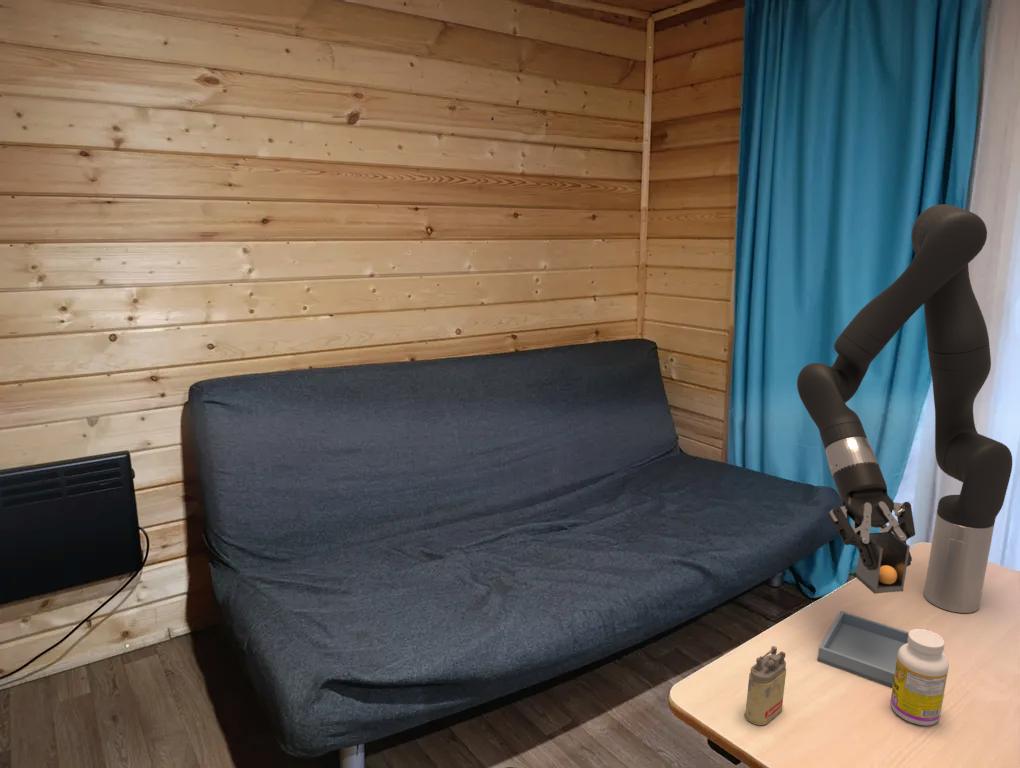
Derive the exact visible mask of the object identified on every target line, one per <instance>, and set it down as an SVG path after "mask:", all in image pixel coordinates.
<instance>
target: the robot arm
mask: <svg viewBox="0 0 1020 768" xmlns="http://www.w3.org/2000/svg"><path fill="white" fill-rule="evenodd" d="M987 229H988V228H987V226H986V223H985V222H984V220H983V219H982V218H981V217H980V216H979V215H978V214H976V213H975V212H972V211H970V210H967V209H964V208H961V207H959V206H956V205H952V204H945V203H944V204H942V203H941V204H935V205H932V206H929V207H927V208H926V209H924V210H923V211H922V212H921V213H920V214H919V215H918V217H916V220H915V221H914V223H913V225H912V230H911V236H910V237H911V243H912V245H911V246H912V248H913V251H914V258H913V259H912V261H911V262H910V263H909V265H908V266H907V268H905V270H904V271H903V273H901V274H900V275H899V277H898V278H896V279H895V281H894V282H892V283H891V284H890V285H889V286H888V287H887V288H885V289H884V290H883V291H882V292H879V294H878V295H877V296H875V297H874V298H873V299H871V300H870V301H869V302H868V303H867V304H865V306H863V307H862V308H861V310H859V311H858V312H857V314H856V315H855V316H854V317H853V318H852V320H851V321H850V322H849V323H848V325H846V327H845V328H844V329H843V331H842V332H841V333H840V335H839V336H838V337H837V338H836V340H835V342H834V345H833V349H834V350H835V353H837V354H838V355H837V356H836V359H835V361H834V363H833V365H832V366H830V365H828V364H825V363H821V362H811V363H808V364H807V365H805V366H804V367H803V368H802V369H801V370H800V371H799V373H798V376H797V380H796V386H797V387H796V389H797V392H798V395H799V398H800V400H801V402H802V403H803V404H802V405H803V406H804V408H805V409H806V410H807V411H806V412H807V413H808V414H809V416H810V418H811V420H812V421H813V422H814V424H815V425H816V427H817V429H818V432H819V436H820V439H821V441H822V444H823V447H824V450H825V455H826V459H827V464H828V467H829V470H830V472H831V476H832V479H833V481H834V484H835V487H836V490H837V494H838V496H839V499H840V500H841V501H842V506H835V507H834V508H832V509H831V510H830V511H828V513H827V516H828V518H829V519H830V522H831V523H832V525H833V526H834V528H835V531H836V532H837V533H838V535H839V537H840V538H841V540H842V542H843V544H844V545H846V546H849V545H851V546H855V547H856V548H857V550H858V554H859V553H860V556H861V559H862V562H863V565H864V566H865V567H867V569H868V570H874V569H876V568H878V563H877V560H876V557H875V555H874V552H873V549H872V546H871V544H868V543H869V533H870V531H871V529H872V528H878V529H879V531H880V532H891V533H892V534H894V535H895V536H897V537H898V538H899V539H901V540H902V541H903V542H905V543H906V544H907V541H908V540H909V539H910V538H913V537H915V536H916V529H915V523H914V522H915V521H914V516H913V511H912V509H913V508H912V504H911V503H910V502H908V501H904V502H902V503H901V502H894V501H893V499H892V498H891V497H890V496H889V495H888V486H887V483H886V480H885V478H884V475H883V472H882V470H881V468H880V464H879V463H878V459H877V456H876V455H875V451H874V449H873V448H872V445H871V444H870V442H869V439H868V437H867V433H866V431H865V429H864V426H863V423H862V422H861V421H862V420H861V419H860V416H859V415H858V414H857V413H856V412H855V411H854V410H852V409H851V408H850V407H848V405H847V402H848V401H850V400H851V399H852V398H853V397H854V396H855V394H856V393H857V391H858V390H859V388H860V386H861V384H862V382H863V379H864V378H865V377H866V374H867V372H868V370H869V368H870V365H871V363H873V361H874V360H875V359H876V358H877V356H878V355H879V354H880V353H881V351H882V350H883V349H884V348H885V347H886V345H888V343H889V342H890V341H891V340H892V339H893V338H894V337H895V335H896V334H897V333H898V332H899V331H900V329H901V328H903V326H904V324H905V323H906V322H908V320H910V318H911V317H912V316H913V315H914V314H915V313H916V312H917V311H918V310H919V309H920V308H921V307H922V306H923V305H924V306H923V309H924V321H925V330H926V331H925V333H926V344H927V345H926V346H927V347H926V348H927V354H928V364H929V370H930V373H931V381H932V391H933V402H934V419H935V420H934V421H935V422H934V423H935V425H934V429H935V430H934V448H935V449H934V450H935V451H934V452H935V453H934V454H935V459H936V463H937V466H938V467H939V469H940V470H941V471H942V472H943V473H945V474H946V475H947V476H949V477H951V478H953V479H955V480H956V481H959V482H962V486H961V489H960V493H959V494H949V495H944V496H942V497H941V498H940V499H938V500H939V501H938V503H937V509H936V516H935V522H934V529H933V535H932V542H931V547H930V551H929V553H930V554H929V558H928V563H927V564H928V566H927V571H926V577H925V583H924V588H923V589H924V590H923V597H924V598H925V599H926V600H927V601H928V602H929V603H930V604H932V605H934V606H935V607H937V608H940V609H943V610H945V611H948V612H952V613H959V614H970V613H971V614H972V613H974V612H976V611H978V610H979V608H980V604H981V599H982V593H983V588H984V583H985V578H986V573H987V567H988V561H989V556H990V550H991V546H992V539H993V533H994V529H995V523H996V519H997V516H998V515H999V513H1000V511H1001V510H1002V508H1003V506H1004V502H1005V500H1006V499H1005V498H1006V495H1007V490H1008V487H1009V483H1010V479H1011V475H1012V471H1013V470H1012V469H1013V455H1012V452H1011V450H1010V448H1009V447H1008V446H1007V445H1005V444H1004V443H1003V442H1000V441H998V440H996V439H993V438H990V437H989V436H985V435H983V434H980V433H978V431H977V428H976V424H975V419H974V418H975V416H974V415H975V414H974V404H975V400H976V397H977V396H978V394H979V393H980V391H981V389H982V388H983V386H984V385H985V382H986V381H987V379H988V377H989V374H990V373H991V368H992V367H991V365H992V358H991V357H992V356H991V348H990V338H989V332H988V328H987V324H986V321H985V318H984V315H983V313H982V310H981V308H980V305H979V302H978V300H977V298H976V297H977V296H976V295H975V292H974V290H973V286H972V284H971V278H970V270H969V263H971V262H972V261H973V260H974V259H975V258H976V257H977V256H978V254H980V252H981V251H982V250H983V248H984V247H985V244H986V242H987V238H988V237H987V236H988V230H987ZM893 512H894V514H893ZM895 516H896V518H895ZM848 518H850V519H851V520H852V521H853V522H852V525H853V526H852V525H851V523H850V521H849V520H848ZM912 561H913V558H912V555H911V552H910V551H909V555H908V562H907V567H909V566H911V564H912Z"/></svg>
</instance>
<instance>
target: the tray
mask: <svg viewBox="0 0 1020 768" xmlns="http://www.w3.org/2000/svg"><path fill="white" fill-rule="evenodd" d="M909 632H910V631H905V630H903V629H900V628H897V627H894V626H891V625H887V624H885V623H884V624H883V623H881V622H878V621H875V620H872V619H868V618H865V617H861V616H859V615H856V614H852V613H849V612H847V611H843V610H840V612H839V614H838V615H837V617H836V619H835V620H834V621H833V624H832V625H831V627H830V629H829V630H828V632H827V633H826V634H825V637H824V638H823V640H822V642H821V644H820V645H819V647H818V655H817V662H820V663H823V664H825V665H828V666H831V667H834V668H836V669H839V670H842V671H845V672H848V673H851V674H854V675H856V676H858V677H862V678H864V679H867V680H870V681H873V682H874V683H878V684H880V685H881V684H882V685H884V686H886V687H889V688H893V681H894V675H895V669H896V662H897V656H898V651H899V649H900V647H901V646H903V645H904V644H907V643H908V641H907V639H908V633H909Z"/></svg>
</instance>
